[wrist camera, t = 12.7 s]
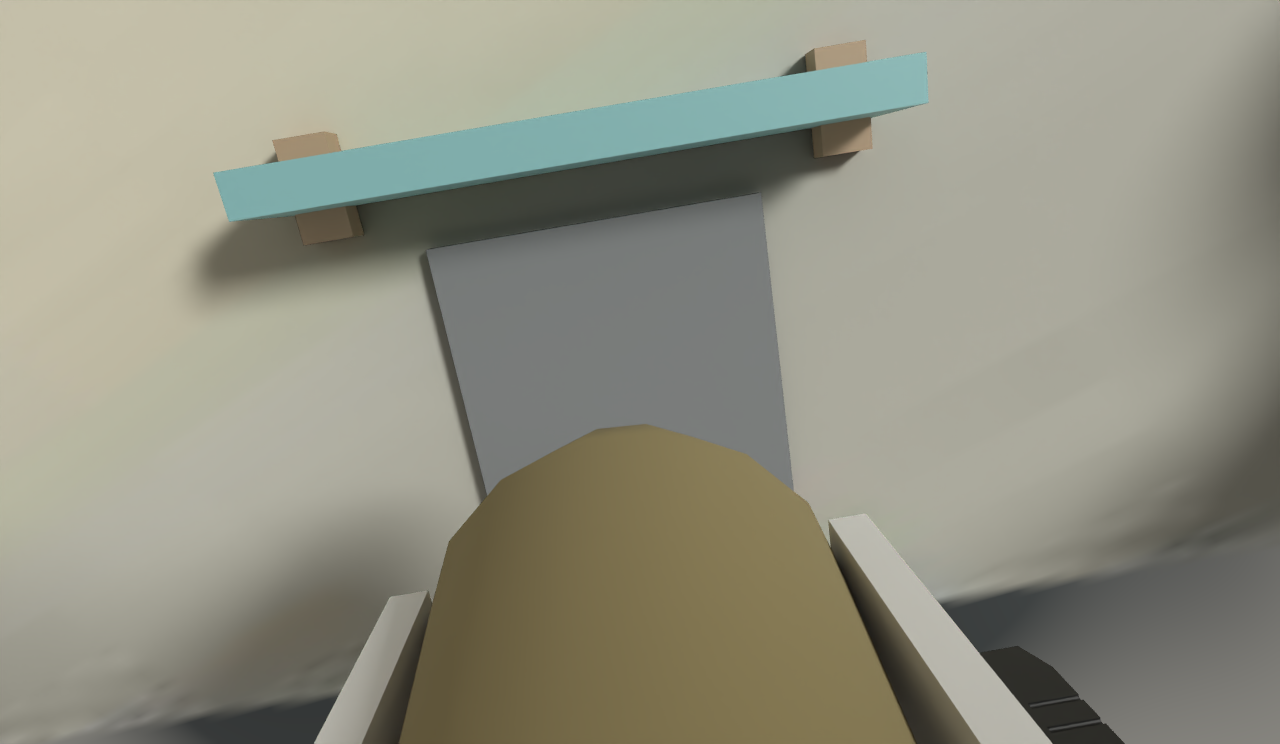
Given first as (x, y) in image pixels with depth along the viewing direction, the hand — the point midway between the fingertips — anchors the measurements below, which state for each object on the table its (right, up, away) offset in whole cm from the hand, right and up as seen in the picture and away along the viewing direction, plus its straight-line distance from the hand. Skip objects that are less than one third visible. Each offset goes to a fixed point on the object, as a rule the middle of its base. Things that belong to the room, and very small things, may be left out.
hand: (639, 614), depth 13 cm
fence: (-2, +14, +14) cm, 20 cm away
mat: (-1, +5, +16) cm, 17 cm away
